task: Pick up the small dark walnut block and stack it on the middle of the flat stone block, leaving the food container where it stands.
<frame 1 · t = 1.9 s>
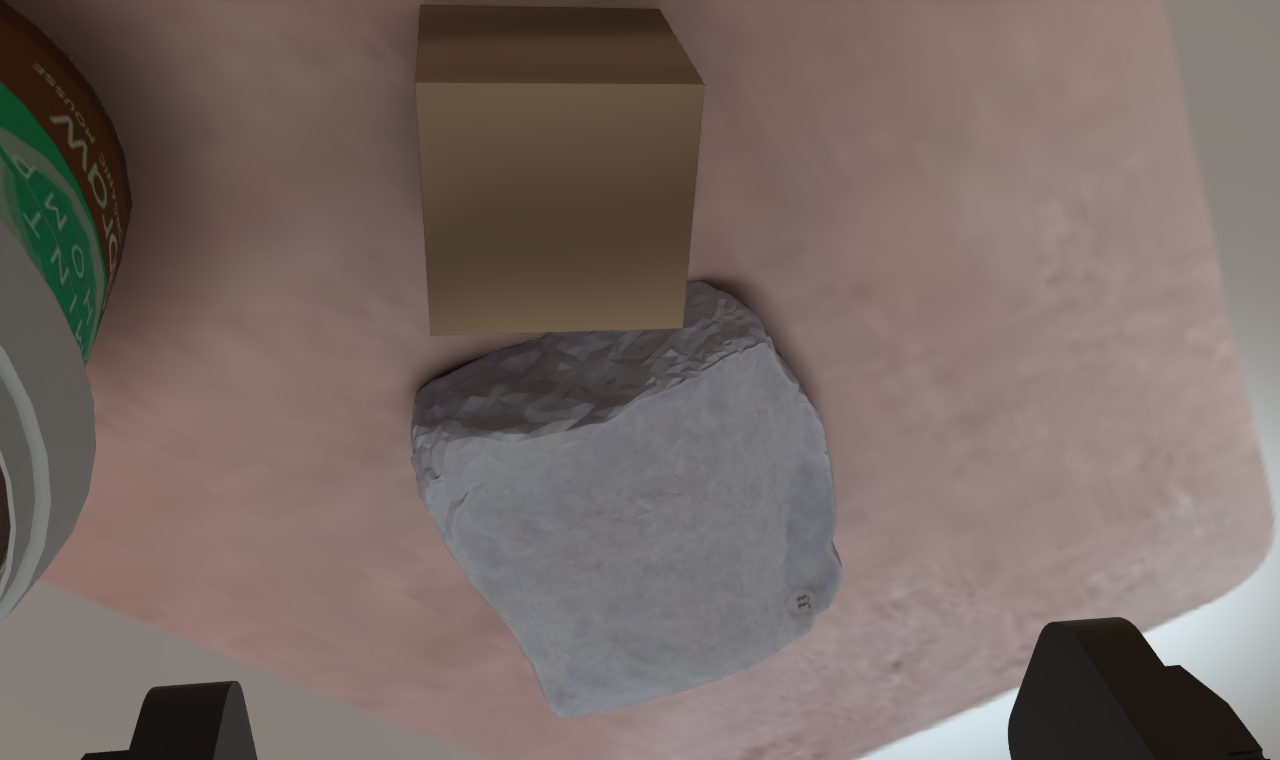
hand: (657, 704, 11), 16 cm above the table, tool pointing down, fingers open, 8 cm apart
walnut block: (541, 120, 24), on the table
stone block: (646, 465, 31), on the table
food container: (25, 137, 23), on the table
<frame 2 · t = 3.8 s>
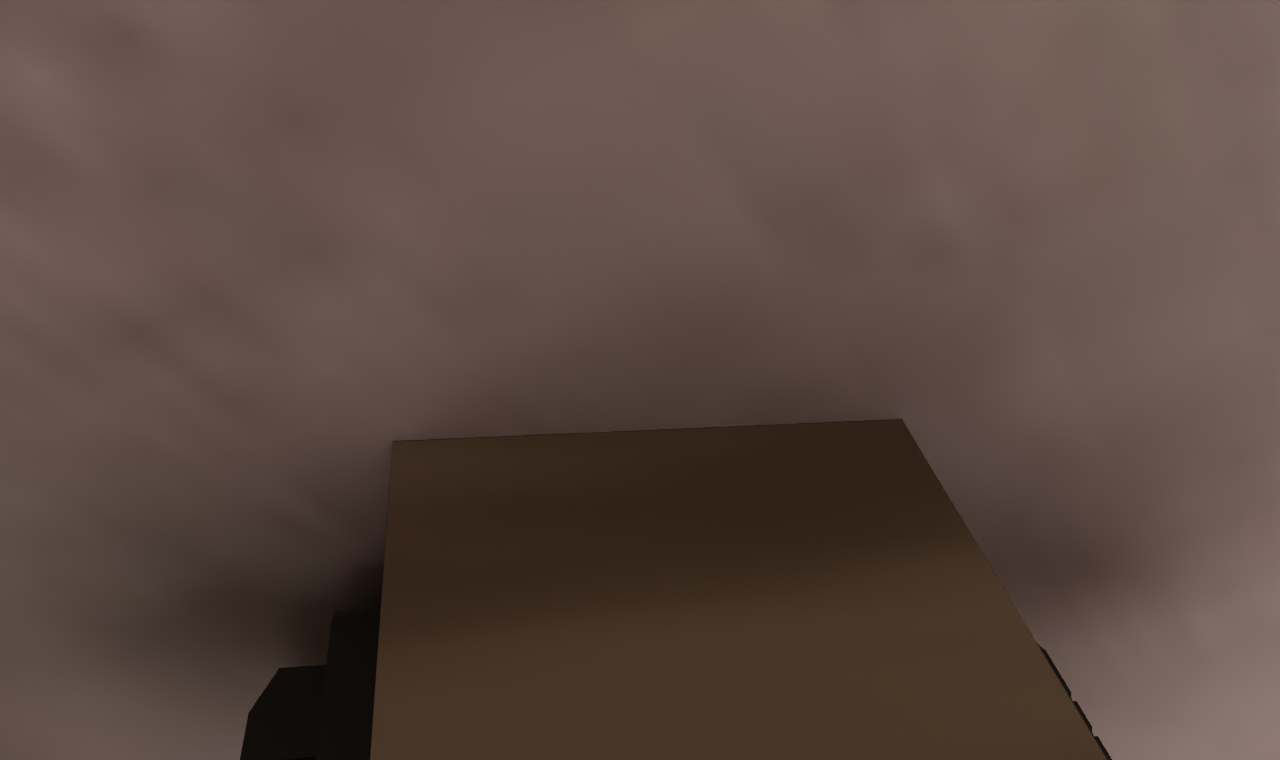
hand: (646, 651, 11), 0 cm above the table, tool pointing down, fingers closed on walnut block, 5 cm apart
walnut block: (642, 614, 12), on the table, touching gripper
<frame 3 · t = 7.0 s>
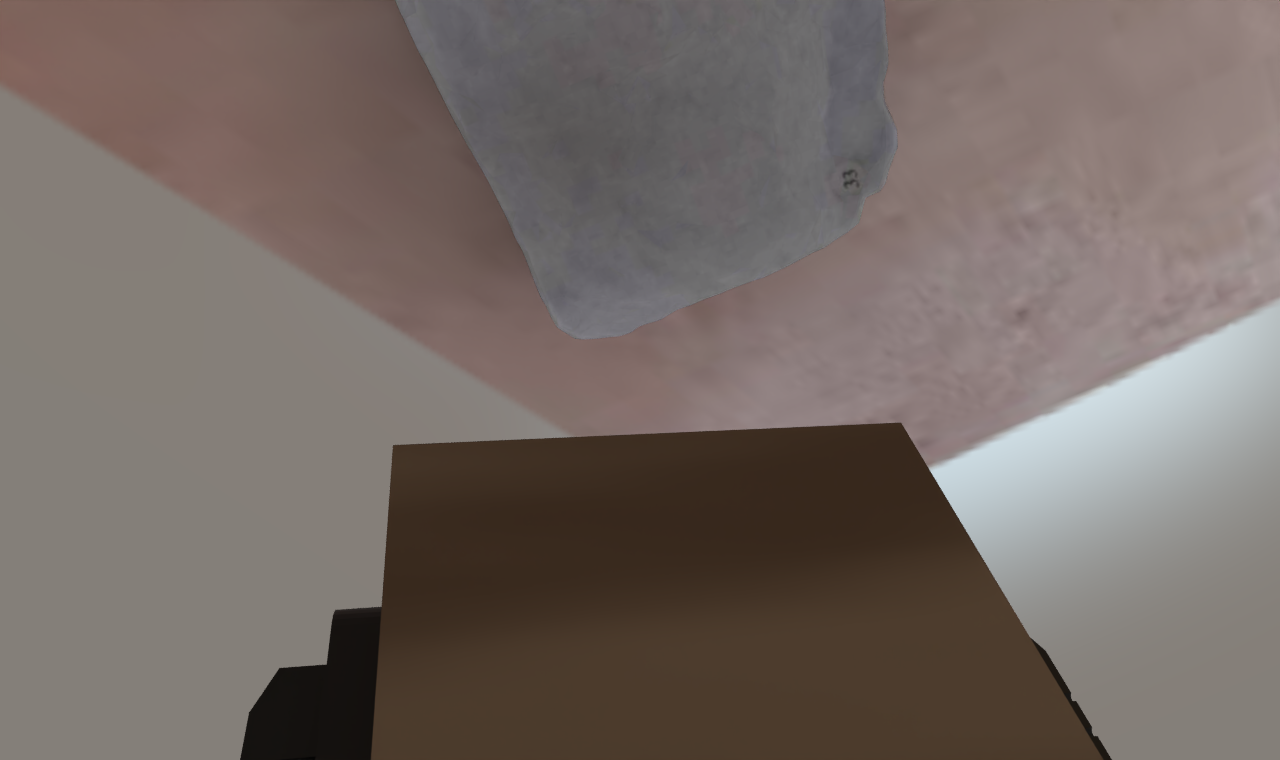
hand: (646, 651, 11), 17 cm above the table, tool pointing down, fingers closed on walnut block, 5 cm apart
walnut block: (642, 617, 12), point 17 cm above the table, touching gripper
stone block: (656, 26, 25), on the table
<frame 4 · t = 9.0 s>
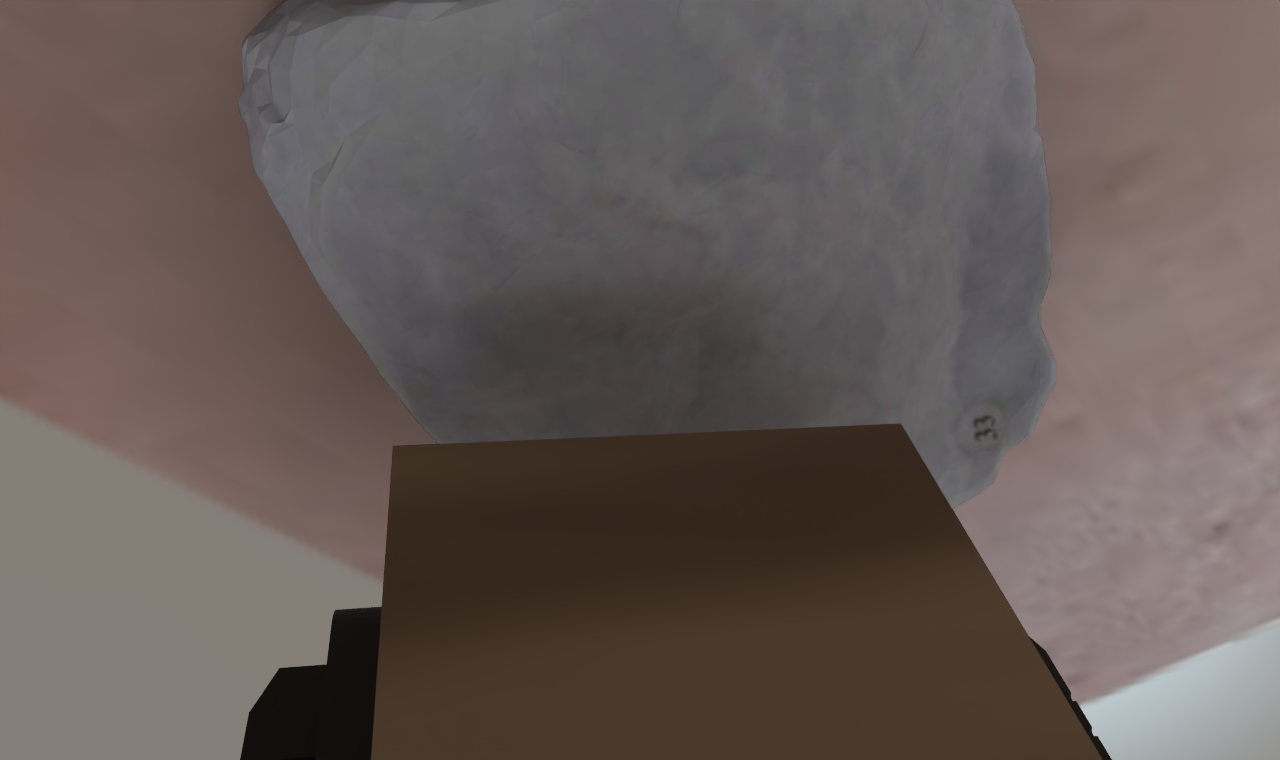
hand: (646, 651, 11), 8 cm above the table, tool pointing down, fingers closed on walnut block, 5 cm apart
walnut block: (642, 618, 12), point 7 cm above the table, touching gripper
stone block: (699, 203, 18), on the table
when the fingers open (5 cm above the table, at t = 10.5 s): walnut block drops 1 cm, point 4 cm above the table.
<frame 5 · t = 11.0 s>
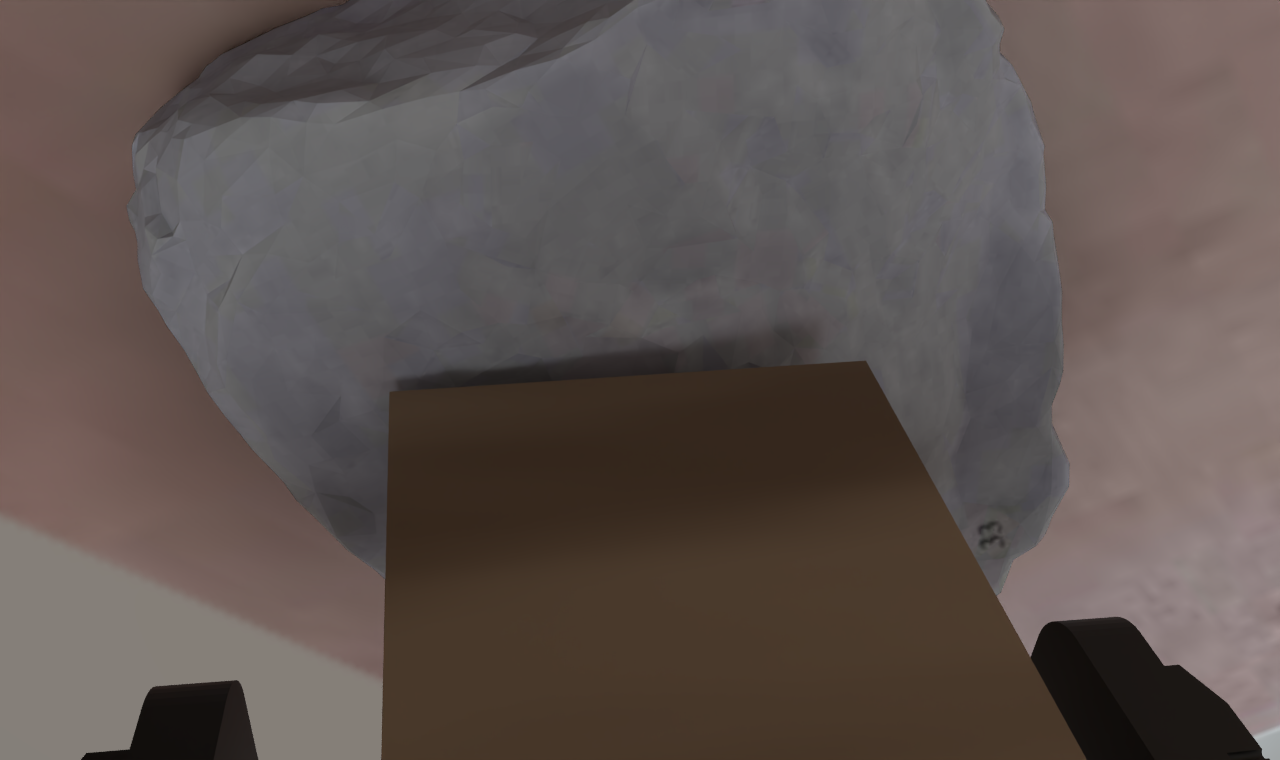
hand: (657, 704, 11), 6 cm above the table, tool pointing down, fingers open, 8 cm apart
walnut block: (626, 543, 13), point 4 cm above the table
stone block: (672, 285, 16), on the table
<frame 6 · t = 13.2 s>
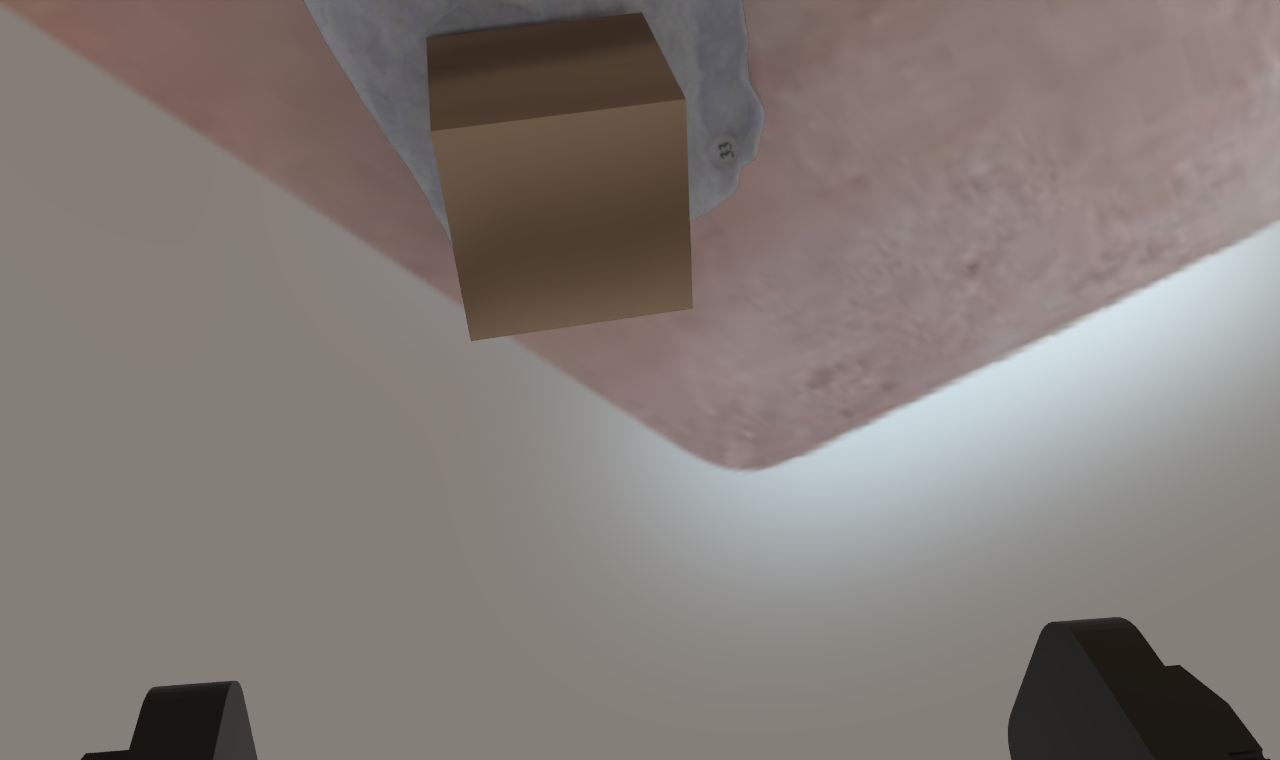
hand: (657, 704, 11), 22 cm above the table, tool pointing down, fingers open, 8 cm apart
walnut block: (547, 125, 26), point 4 cm above the table, touching stone block
stone block: (553, 24, 29), on the table, touching walnut block
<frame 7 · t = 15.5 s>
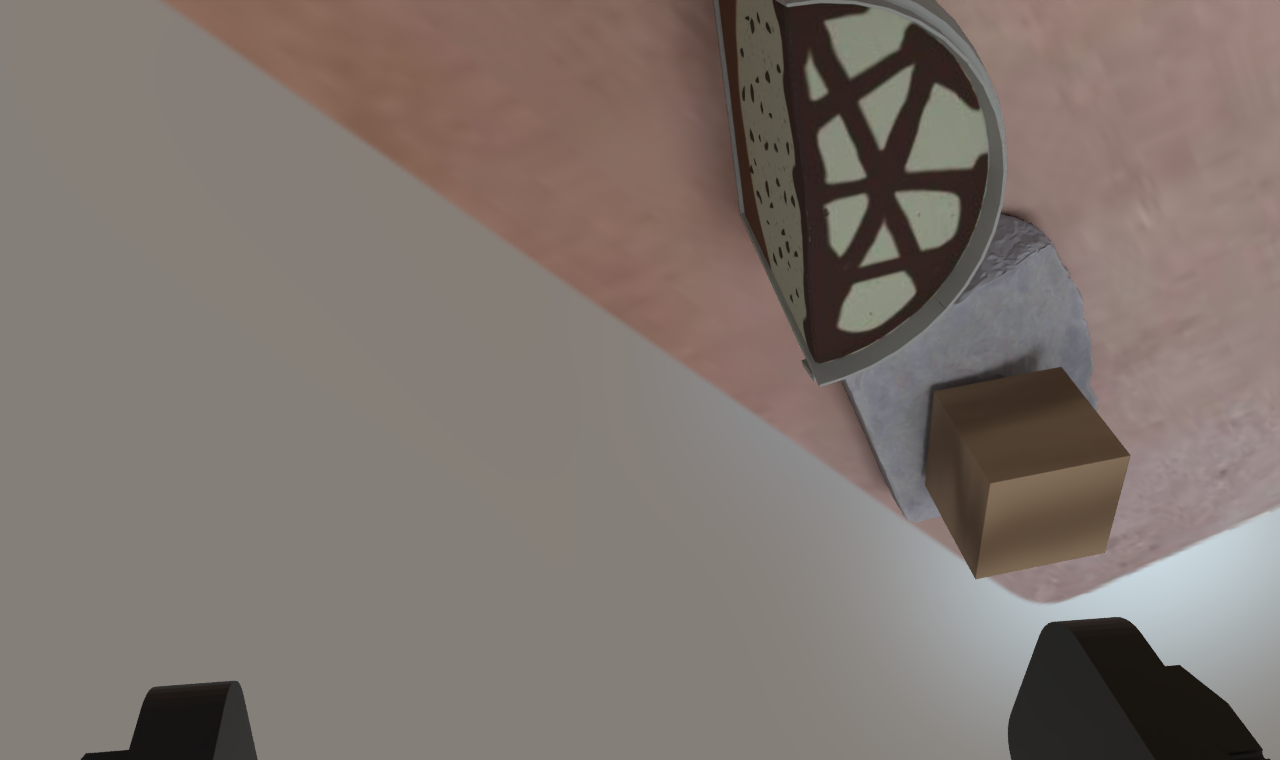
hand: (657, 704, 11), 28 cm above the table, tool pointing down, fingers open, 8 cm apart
walnut block: (990, 427, 42), point 4 cm above the table, tilted 5°, touching stone block
stone block: (951, 345, 45), on the table, touching walnut block
food container: (810, 73, 37), on the table
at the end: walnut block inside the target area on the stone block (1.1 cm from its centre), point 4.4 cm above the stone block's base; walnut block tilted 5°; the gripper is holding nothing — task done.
